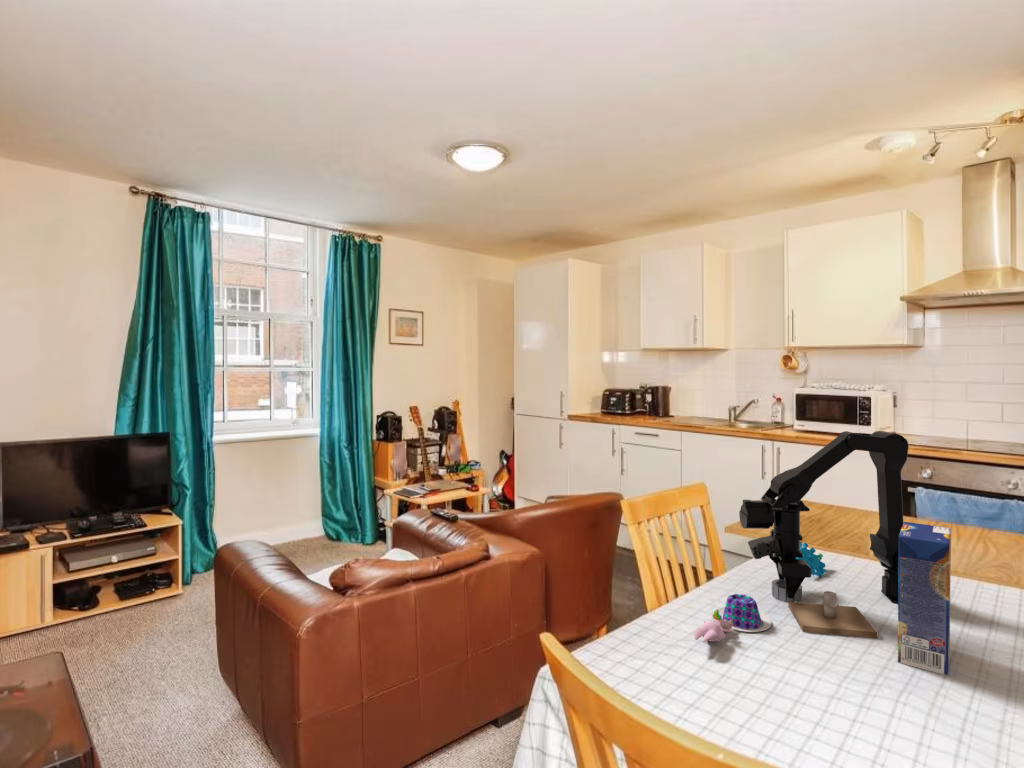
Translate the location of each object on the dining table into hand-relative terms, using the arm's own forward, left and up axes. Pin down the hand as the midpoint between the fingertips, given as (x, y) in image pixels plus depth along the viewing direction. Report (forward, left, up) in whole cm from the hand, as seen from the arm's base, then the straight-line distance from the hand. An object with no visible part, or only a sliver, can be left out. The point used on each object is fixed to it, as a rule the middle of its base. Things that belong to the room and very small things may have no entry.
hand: (786, 592), depth 134 cm
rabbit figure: (+20, +25, -1) cm, 32 cm away
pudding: (+13, +15, -2) cm, 20 cm away
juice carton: (-19, +24, -1) cm, 30 cm away
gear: (-10, -18, -1) cm, 21 cm away
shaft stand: (-6, +12, -1) cm, 13 cm away
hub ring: (0, 0, -1) cm, 1 cm away
